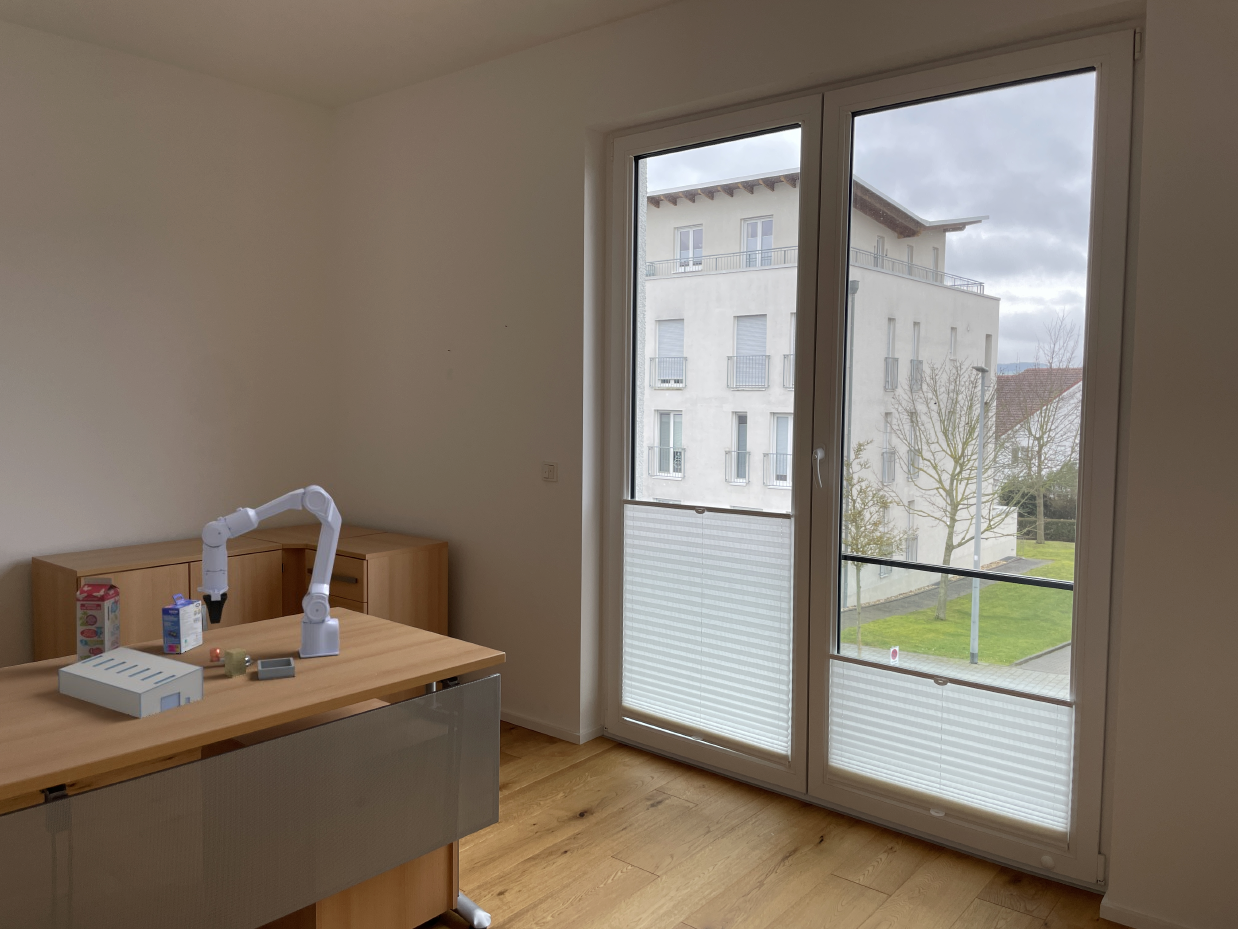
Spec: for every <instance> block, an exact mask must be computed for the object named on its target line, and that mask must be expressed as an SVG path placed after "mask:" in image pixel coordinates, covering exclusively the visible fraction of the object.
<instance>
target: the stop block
mask: <svg viewBox="0 0 1238 929" xmlns="http://www.w3.org/2000/svg"><path fill="white" fill-rule="evenodd" d="M246 655H247V650H246V649H243V648H240V647H235V648H231V649H227V650H224V658H225V662H224V676H226V675H228V676H231V677H235V678H237V677H236V676H239V677H241V676H240V675H243V676H245V675H244V674H246V675H247V666H246ZM228 676H227V677H228ZM231 677H230V678H231Z"/></svg>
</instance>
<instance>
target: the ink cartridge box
mask: <svg viewBox="0 0 1238 929" xmlns="http://www.w3.org/2000/svg"><path fill="white" fill-rule="evenodd" d="M178 597H179V598H180V599H177V598H178ZM172 599H173V601H174V603H171V604H169V605H166V606H164V607H162V608H161V618H162V640H163V644H162V645H163V653H164V652H165V653H164V654H176V653H179V654H178V655H180V653H181V654H184V653H186V652H187V651H189V650H192V649H195V648H196V647H199V646H200V645H202V644H203V621H202V620H203V618H202V600H200V599H186V598H184V596H183V594H181V593H178V594H177V593H176V594H174V595H172ZM185 651H186V652H185Z"/></svg>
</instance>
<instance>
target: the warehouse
mask: <svg viewBox="0 0 1238 929" xmlns="http://www.w3.org/2000/svg"><path fill="white" fill-rule="evenodd" d="M57 671H58V672H57V675H58V678H57V679H58V681H57V682H58V693H59V694H62V695H66V696H69V697H72V698H76V699H78V700H82V701H85V702H88V703H90V704H94V705H97V706H101V707H103V708H107V709H110V710H113V711H116V712H120V713H123V714H125V715H128V714H129V715H128V716H132V717H135V718H139V719H140V718H141V719H143V718H142V717H144V718H147V717H150V716H153V715H156V714H159V712H160V713H162V712H165V711H168V710H172V709H174V708H173V707H175V708H178V707H181V706H180V705H182V706H184V704H185V705H188V704H191V703H190V702H192V703H194V702H193V701H195V702H197V700H198V701H201V700H204V667H203V666H200V665H196V664H191V663H188V662H185V661H180V660H176V659H172V658H169V657H164V656H160V655H157V654H152V653H149V652H146V651H145V652H144V651H141V650H137V649H133V648H130V647H126V646H121V645H120V647H118V648H116V649H113V650H110V651H107V652H105V653H102V654H99V655H97V656H94V657H91V658H88V659H86V660H83V661H80V662H77V661H76V662H75V663H72V664H69V665H67V666H64V667H61V668H58V670H57ZM200 699H201V700H200ZM187 703H188V704H187ZM177 706H178V707H177ZM171 708H172V709H171ZM167 709H168V710H167ZM164 710H165V711H164ZM155 713H156V714H155ZM152 714H153V715H152ZM149 715H150V716H149ZM146 716H147V717H146Z"/></svg>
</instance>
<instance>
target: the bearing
mask: <svg viewBox="0 0 1238 929" xmlns="http://www.w3.org/2000/svg"><path fill="white" fill-rule="evenodd" d="M252 663H253V664H254V660H253V659H250V661H249V662H246V667H249V666H248V665H250V666H252V665H253V664H252ZM251 664H252V665H251Z"/></svg>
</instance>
